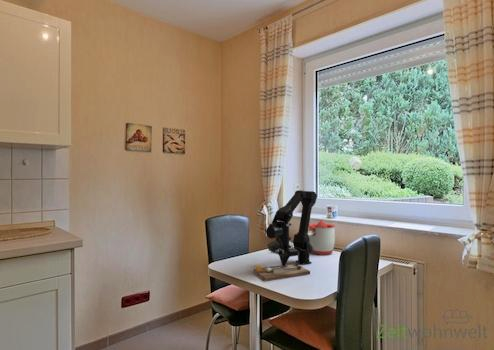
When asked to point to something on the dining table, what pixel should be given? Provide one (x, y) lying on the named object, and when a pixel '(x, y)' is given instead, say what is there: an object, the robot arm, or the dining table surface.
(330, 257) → the dining table surface
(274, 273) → the tong board
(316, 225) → the citrus juicer
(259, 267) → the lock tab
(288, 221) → the robot arm
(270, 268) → the tong arm
